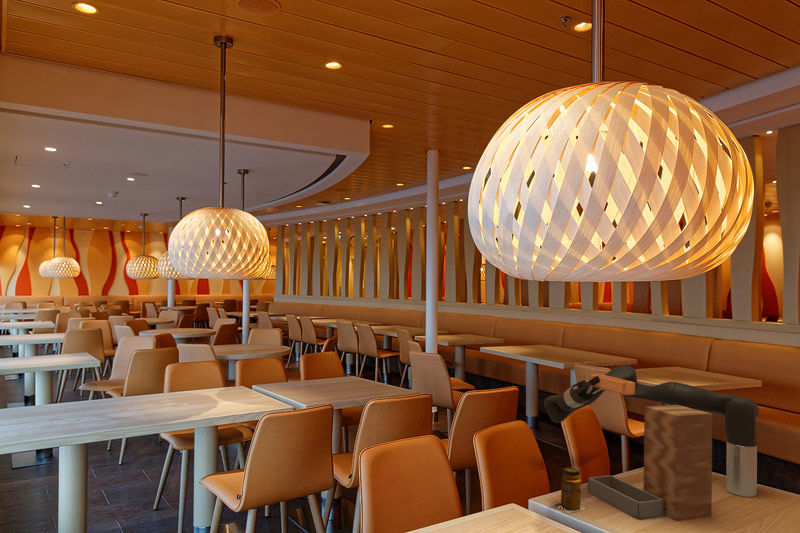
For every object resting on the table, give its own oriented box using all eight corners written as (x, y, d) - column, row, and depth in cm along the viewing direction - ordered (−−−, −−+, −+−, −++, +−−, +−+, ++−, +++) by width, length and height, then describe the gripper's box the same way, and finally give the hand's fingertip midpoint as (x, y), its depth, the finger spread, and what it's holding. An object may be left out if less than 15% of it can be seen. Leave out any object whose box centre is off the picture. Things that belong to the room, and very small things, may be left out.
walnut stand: (643, 504, 190) (644, 406, 191) (676, 500, 194) (677, 404, 196) (676, 520, 177) (677, 415, 178) (711, 516, 181) (712, 413, 182)
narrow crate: (589, 385, 206) (589, 374, 206) (599, 385, 207) (599, 374, 207) (624, 395, 189) (624, 383, 189) (635, 394, 190) (635, 382, 190)
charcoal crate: (587, 492, 200) (587, 477, 200) (611, 489, 203) (611, 475, 203) (638, 519, 177) (638, 503, 177) (664, 516, 180) (664, 500, 180)
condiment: (586, 508, 185) (586, 471, 185) (568, 514, 180) (569, 475, 180) (568, 501, 191) (568, 464, 191) (550, 506, 186) (551, 468, 186)
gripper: (559, 385, 215) (584, 368, 201) (591, 384, 219) (618, 367, 206) (564, 405, 211) (590, 389, 197) (597, 403, 216) (625, 388, 202)
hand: (604, 378), depth 202 cm, fingers closed on narrow crate, 4 cm apart
